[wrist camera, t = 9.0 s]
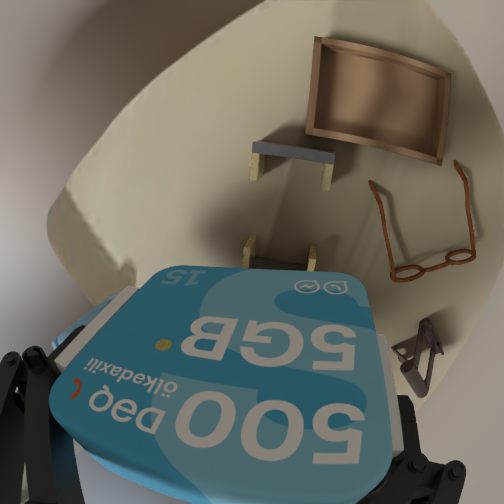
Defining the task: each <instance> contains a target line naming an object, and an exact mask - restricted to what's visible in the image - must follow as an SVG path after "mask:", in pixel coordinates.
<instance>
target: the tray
mask: <svg viewBox="0 0 504 504" xmlns="http://www.w3.org/2000/svg"><path fill="white" fill-rule="evenodd" d="M450 87H451V73H449V72H446V71H444V70H441V69H439V68H436V67H434V66H431V65H429V64H426V63H423V62H421V61H418V60H415V59H412V58H409V57H406V56H403V55H399V54H396V53H393V52H389V51H386V50H382V49H378V48H374V47H370V46H366V45H362V44H357V43H352V42H347V41H342V40H336V39H330V38H323V37H316V36H314V49H313V61H312V73H311V83H310V93H309V103H308V113H307V122H306V130H305V134H308V135H314V136H320V137H326V138H332V139H337V140H342V141H347V142H352V143H357V144H362V145H366V146H371V147H375V148H379V149H383V150H387V151H391V152H395V153H399V154H402V155H406V156H409V157H413V158H416V159H420V160H423V161H426V162H429V163H433V164H436V165H439V166H442V160H443V154H444V148H445V141H446V134H447V125H448V116H449V104H450Z"/></svg>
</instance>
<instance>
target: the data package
mask: <svg viewBox="0 0 504 504" xmlns="http://www.w3.org/2000/svg"><path fill="white" fill-rule="evenodd" d="M49 406H50V410H51V413H52V415H53V417H54V418H55V419H56V421H57V422H58V423H59V424H60V425H61V426H62V427H63V428H64V429H65V430H66V431H67V432H68V434H69V435H70V436H71V437H72V438H73V439H74V440H75V441H76V442H78V443H79V444H80V445H81V446H82V447H83V448H84V449H85V450H86V451H87V452H88V453H89V454H90V455H91V456H93V457H94V458H95V459H96V460H97V461H99V463H101V464H102V465H103V466H104V467H105V468H107V469H109V470H110V471H112V472H114V473H116V474H118V475H120V476H122V477H124V478H127V479H129V480H131V481H133V482H135V483H138V484H140V485H142V486H145V487H147V488H150V489H152V490H155V491H157V492H160V493H162V494H165V495H168V496H171V497H174V498H177V499H180V500H183V501H186V502H189V503H193V504H356V503H357V502H358V501H359V500H361V499H362V498H363V497H364V496H365V495H367V494H368V493H369V492H370V491H371V490H372V489H374V488H375V487H376V486H377V485H378V484H379V483H380V482H381V481H382V479H383V478H384V476H385V475H386V473H387V471H388V469H389V467H390V464H391V461H392V455H393V445H392V434H391V424H390V415H389V406H388V399H387V392H386V385H385V379H384V372H383V367H382V361H381V356H380V350H379V345H378V340H377V335H376V331H375V326H374V322H373V317H372V313H371V309H370V304H369V300H368V296H367V292H366V289H365V287H364V285H363V284H362V283H361V282H360V281H359V280H358V279H356V278H355V277H353V276H350V275H348V274H344V273H339V272H319V271H291V270H267V269H244V268H223V267H204V266H184V265H183V266H173V267H169V268H166V269H163V270H161V271H159V272H157V273H156V274H154V275H153V276H152V277H151V278H150V279H149V280H148V281H147V282H146V283H145V284H144V285H143V286H142V287H141V288H140V289H139V290H138V291H137V292H136V293H135V294H134V295H133V296H132V297H131V298H130V299H129V300H128V301H127V303H126V304H125V305H124V306H123V307H122V308H121V309H120V310H119V311H118V312H117V313H116V314H115V315H114V316H113V317H112V318H111V319H110V320H109V321H108V322H107V324H106V325H105V326H104V327H103V328H102V329H101V330H100V331H99V332H98V333H97V334H96V335H95V337H94V338H93V339H92V340H91V341H90V342H89V343H88V344H87V345H86V346H85V348H84V349H83V350H82V351H81V352H80V353H79V354H78V355H77V357H76V358H75V359H74V360H73V361H72V362H71V363H70V365H69V366H68V367H67V368H66V369H65V370H64V371H63V373H62V374H61V375H60V376H59V377H58V379H57V380H56V381H55V383H54V384H53V386H52V388H51V391H50V395H49Z"/></svg>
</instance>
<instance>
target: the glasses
mask: <svg viewBox="0 0 504 504" xmlns="http://www.w3.org/2000/svg"><path fill="white" fill-rule="evenodd" d="M454 166H455V168H456V170H457V171H458V173H459V175H460V177H461V178H462V180H463V182H464V189H465V207H466V213H467V219H468V225H469V232H470V240H471V248H472V250H469V249H462V250H458V251H455V252H451V253H448V254H447V255H446V256H445V260H446V262H444V263H442V264H439V265H435V266H432V267H429V268H423V267H421V266H418V265H409V266H405V267H402V268H398V269H396V270H395V269H394V263H393V258H392V253H391V248H390V243H389V239H388V234H387V229H386V221H385V215H384V209H383V205H382V201H381V199H380V197H379V195H378V193H377V191H376V189H375V187H374V185H373V183H372V181H371V180H370V181H368V182H369V185H370V188H371V190H372V192H373V194H374V196H375V198H376V200H377V203H378V205H379V209H380V214H381V219H382V226H383V232H384V237H385V241H386V246H387V250H388V255H389V260H390V266H391V271H392V272H391V273H390V278H391V280H392V281H394V282H400V283H401V282H408V281H412V280H415V279H418V278H419V277H421V276H422V275H424V273H425V272H430V271H434V270H437V269H440V268H443V267H446V266H448V265H449V264H450V265H461V264H465V263H468V262H471V261H473V260H474V259H475V258H476V250H475V241H474V233H473V225H472V219H471V213H470V207H469V188H468V181H467V178H466V176H465V175H464V173H463V171H462V169H461V168H460V166H459V164H458V163H457V161H456V160H454ZM460 253H468V254H471V255H472V256H471V257H469V258H467V259H464V260H459V261H454V260H451V259H449V258H450V257H451V256H453V255H456V254H460ZM408 269H417V270H419V271H420V272H419V273H417V274H416V275H413V276H410V277H406V278H397V277H396V274H397V273H398V272H401V271H404V270H408Z"/></svg>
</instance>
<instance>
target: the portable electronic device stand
mask: <svg viewBox="0 0 504 504" xmlns="http://www.w3.org/2000/svg"><path fill="white" fill-rule="evenodd" d="M424 335H425V337H426V339H427V341H428V343H429V345H430V347H431V350H430V357H429V363H428V369H427V374H426V378H425V380H423V379H422V377H421V375H420V373H419V372H418V365H419V360H420V355H421V349H422V343H423V336H424ZM391 348H392V350H393V351H394V352H395V353H396V354H397V355H398V356H399V357H398V359H399V360H400V362H401V363H402V365H401V367H400V370H401V372H402V374H403V375H404V377H405V378H406V380H407V381H408V383H409V384H410V386H411V387H412V389H413V390H414V392H415V394H416V395H417V397H419V398H423V397H425V396H426V395H427V393H428V390H429V385H430V380H431V375H432V369H433V363H434V357H435V354H437V353H441V354H442V355H444V352H443V349H442V346H441V344H440V342H439V339H438V337H437V335H436V332H435V330H434V328H433V326H432V324H431V322H430V320H429V319H428V318H424V319H422V320H421V321H420V323H419V329H418V335H417V341H416V347H415V352H414V357H413V358H412V359H411V360H407V359H406V358H405V357H404V356H403V355H401V354H400V353H399V352H398V351H397V350H396V349H395V348H394V347H391Z"/></svg>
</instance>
